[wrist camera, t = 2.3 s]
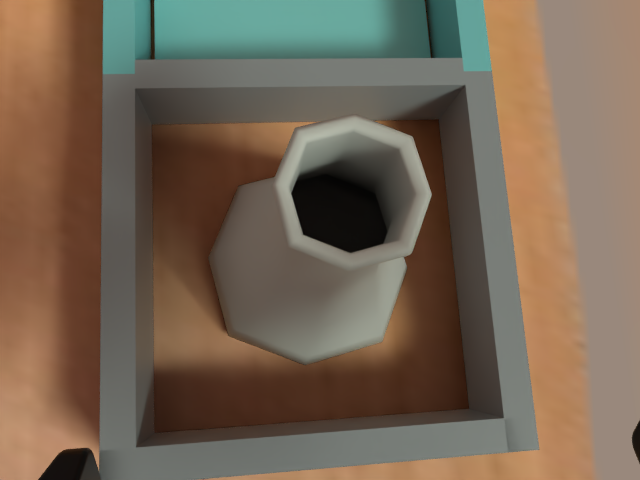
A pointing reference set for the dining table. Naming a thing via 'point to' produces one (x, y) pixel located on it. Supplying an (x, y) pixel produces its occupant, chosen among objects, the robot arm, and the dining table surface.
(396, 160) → the flask
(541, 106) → the dining table surface
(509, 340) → the tray
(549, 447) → the dining table surface
